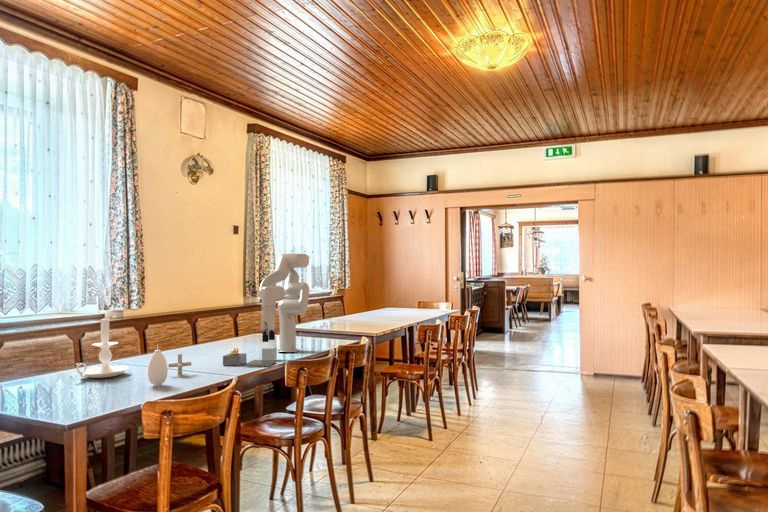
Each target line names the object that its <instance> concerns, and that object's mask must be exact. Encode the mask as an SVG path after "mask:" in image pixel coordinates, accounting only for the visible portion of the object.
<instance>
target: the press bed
mask: <svg viewBox="0 0 768 512" xmlns="http://www.w3.org/2000/svg"><path fill="white" fill-rule="evenodd" d="M276 361H277V360H262V359H252V360H250V361H249V362H246V363H245V364H244V367H245V366H269V365H271V364H273V363H275V362H276ZM275 364H276V363H275ZM273 365H274V364H273ZM271 366H272V365H271ZM269 367H270V366H269Z"/></svg>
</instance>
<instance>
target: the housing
mask: <svg viewBox="0 0 768 512" xmlns="http://www.w3.org/2000/svg"><path fill="white" fill-rule="evenodd" d="M277 350H278V348H277V346H265V347H262V348H261V360H275V359H277V356H278V355H277V353H278V352H277Z"/></svg>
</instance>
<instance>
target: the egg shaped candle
mask: <svg viewBox="0 0 768 512" xmlns="http://www.w3.org/2000/svg"><path fill="white" fill-rule="evenodd" d="M153 351H154V353H153V354H151V357H150V360H149V361H148V366H147V377H148V380H149V382H150V384H152V386H154V387H161V386H163V383H165V382H166V379H167V378H168V374H169V373H168V370H169V369H168V368H169V367H168V363H167V359H166V358H165V355H164V354H163V353H162V350H161V349H159V344H158V343H157V344H156V349H155V350H153Z"/></svg>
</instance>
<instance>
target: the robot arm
mask: <svg viewBox="0 0 768 512" xmlns="http://www.w3.org/2000/svg"><path fill="white" fill-rule="evenodd" d="M309 263H310V258H309V256H308V255H307V253H283V254H281V255H279V257H278V260H277V262H276V263H275V268H274V269H273V271H272V272H271V273H269V274H268V275H267V276H266V277H264V278H263V280H262V281H261V283H260V286H259V288H258V297H259V298H260V299H261V317H260V319H261V321H260V330H261V331H262V332H261V334H262V341H261V342H262V343H268V342H270V341H274V340H276V338H275V337H276V336H275V335H276V333H275V332H276V314H275V313H276V311H278V318H279V349H277V351H278V352H295V353H298V352H299V350H300V349H299V348H297V329H296V326H297V325H296V320H295V317H293V316H300V315H301V316H302V315H305V314H306V313H307V311H308V306H309V300H310V299H309V298H310V286H309V284H308V283H306V282H301V281H300V276H299V274H298V272H297V271H296V269H295V268H297V269H304V268H307V267H308V266H309ZM283 281H284V282H283ZM299 281H300V282H299ZM280 282H283V287H282V286H281V285H274V284H278V283H280ZM276 300H278V302H277V301H276ZM276 303H277V304H276ZM276 308H277V309H276ZM297 351H298V352H297ZM278 352H277V353H278Z"/></svg>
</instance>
